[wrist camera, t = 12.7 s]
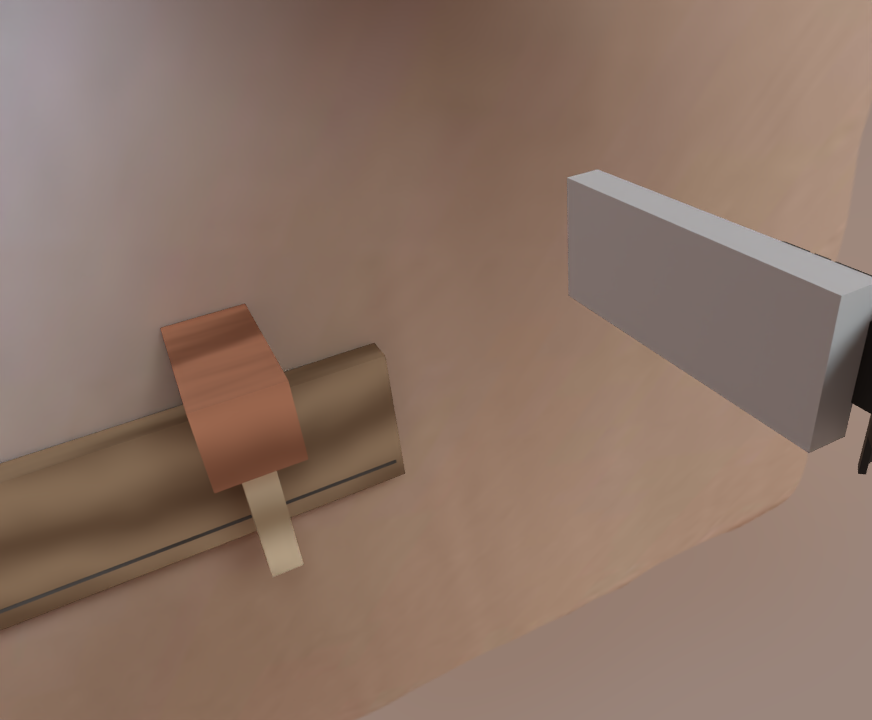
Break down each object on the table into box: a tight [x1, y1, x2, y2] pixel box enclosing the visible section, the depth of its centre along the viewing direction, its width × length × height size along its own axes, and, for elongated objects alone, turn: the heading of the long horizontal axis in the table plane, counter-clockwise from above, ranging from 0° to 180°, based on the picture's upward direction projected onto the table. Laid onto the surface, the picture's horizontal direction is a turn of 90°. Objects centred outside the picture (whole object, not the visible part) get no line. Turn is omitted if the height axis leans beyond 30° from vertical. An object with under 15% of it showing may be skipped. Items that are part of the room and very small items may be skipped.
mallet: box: [160, 304, 308, 577], centre depth 43 cm, size 15×5×10 cm, turn 7°
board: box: [0, 343, 405, 630], centre depth 46 cm, size 10×30×2 cm, turn 97°
